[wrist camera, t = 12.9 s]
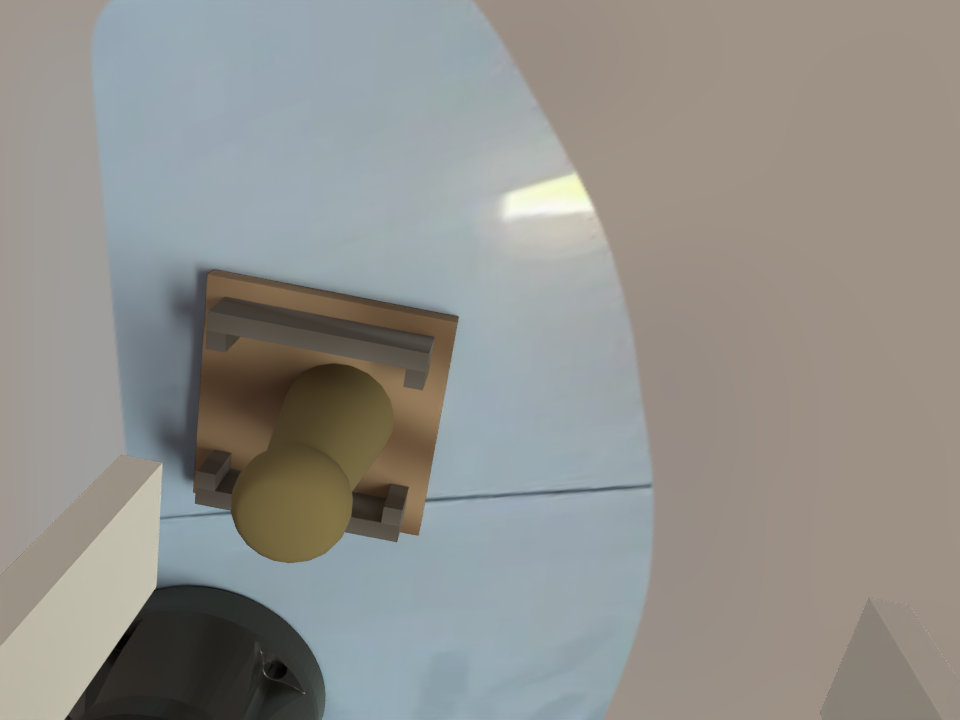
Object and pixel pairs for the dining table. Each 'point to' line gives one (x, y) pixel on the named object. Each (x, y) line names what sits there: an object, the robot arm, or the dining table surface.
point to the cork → (312, 464)
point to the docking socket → (299, 347)
